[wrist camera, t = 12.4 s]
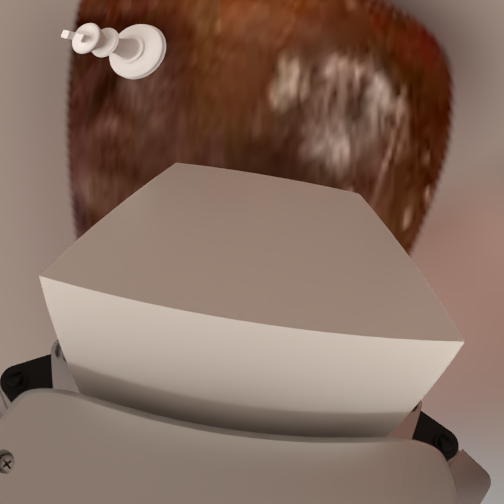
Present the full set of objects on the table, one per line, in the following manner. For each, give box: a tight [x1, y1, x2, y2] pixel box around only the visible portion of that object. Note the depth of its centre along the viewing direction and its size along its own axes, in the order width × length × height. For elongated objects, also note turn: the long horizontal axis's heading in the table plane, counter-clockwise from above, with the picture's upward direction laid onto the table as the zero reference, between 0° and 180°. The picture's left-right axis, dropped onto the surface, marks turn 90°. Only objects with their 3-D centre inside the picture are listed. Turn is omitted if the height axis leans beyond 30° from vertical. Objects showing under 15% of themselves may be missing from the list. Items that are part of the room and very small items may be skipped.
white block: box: [39, 163, 464, 437], centre depth 11 cm, size 10×8×9 cm
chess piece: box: [61, 23, 166, 79], centre depth 15 cm, size 5×5×10 cm
